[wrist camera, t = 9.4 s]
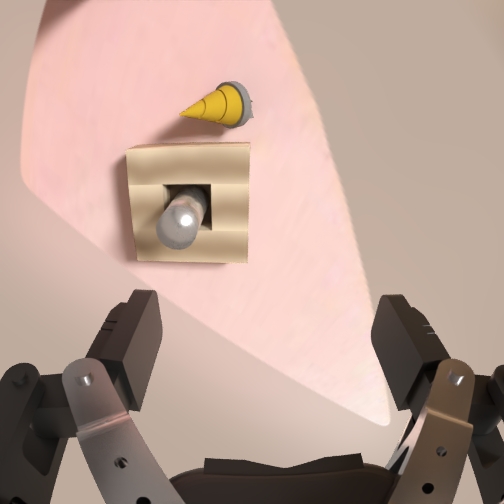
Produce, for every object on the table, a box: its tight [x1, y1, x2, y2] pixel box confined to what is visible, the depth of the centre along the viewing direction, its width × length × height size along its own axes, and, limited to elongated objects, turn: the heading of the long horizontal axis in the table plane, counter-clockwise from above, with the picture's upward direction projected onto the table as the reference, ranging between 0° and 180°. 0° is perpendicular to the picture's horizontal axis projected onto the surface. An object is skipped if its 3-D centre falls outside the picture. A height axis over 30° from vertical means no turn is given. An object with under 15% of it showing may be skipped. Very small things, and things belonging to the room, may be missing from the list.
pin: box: [156, 184, 209, 250], centre depth 35 cm, size 4×4×10 cm
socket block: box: [126, 142, 250, 263], centre depth 38 cm, size 14×14×4 cm
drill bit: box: [179, 81, 253, 128], centre depth 32 cm, size 5×5×10 cm
